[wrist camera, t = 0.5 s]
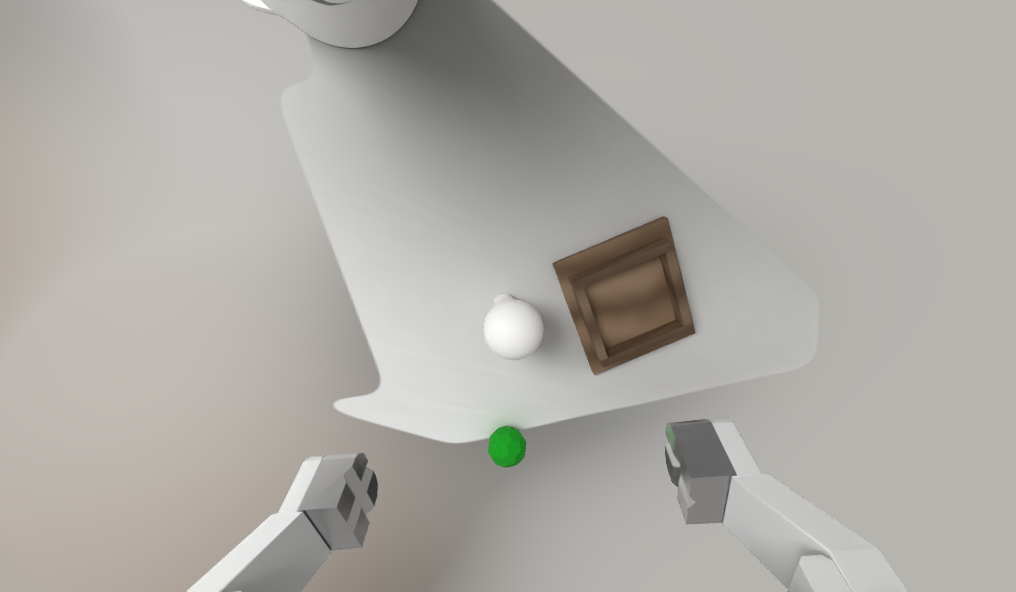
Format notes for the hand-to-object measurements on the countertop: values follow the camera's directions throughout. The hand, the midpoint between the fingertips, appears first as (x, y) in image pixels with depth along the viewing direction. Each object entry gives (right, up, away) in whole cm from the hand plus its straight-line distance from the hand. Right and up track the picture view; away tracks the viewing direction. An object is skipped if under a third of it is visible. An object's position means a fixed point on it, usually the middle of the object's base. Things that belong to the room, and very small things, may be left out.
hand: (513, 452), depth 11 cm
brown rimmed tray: (+14, +4, +41) cm, 44 cm away
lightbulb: (-1, +4, +39) cm, 39 cm away
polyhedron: (-1, -14, +46) cm, 48 cm away
